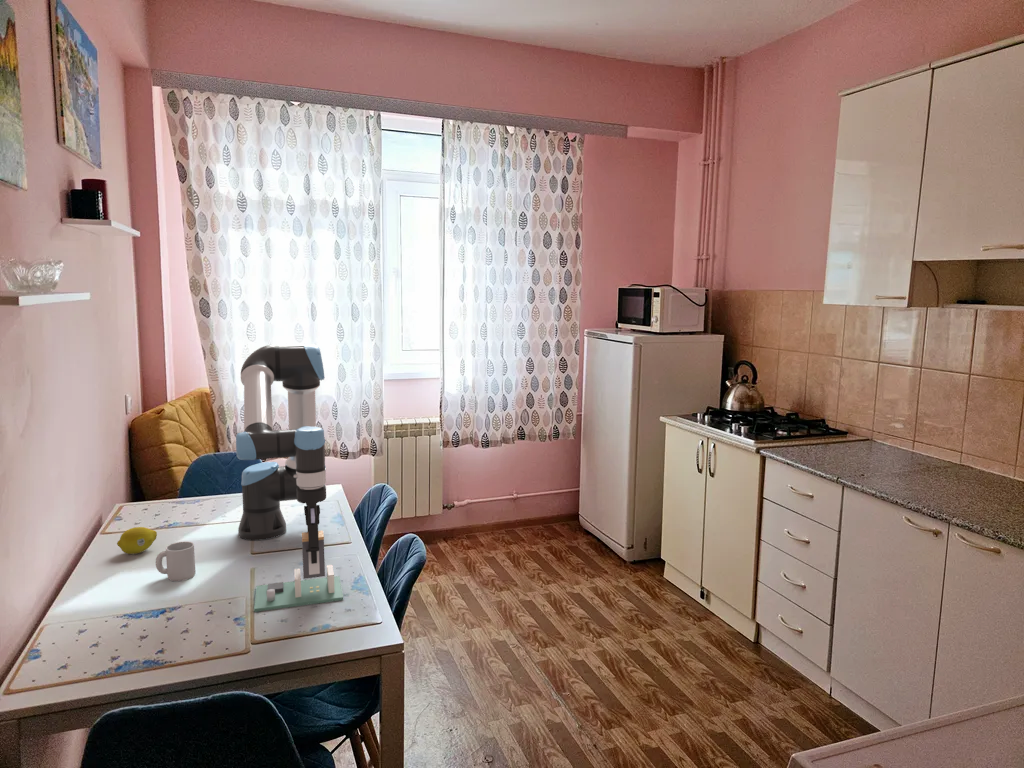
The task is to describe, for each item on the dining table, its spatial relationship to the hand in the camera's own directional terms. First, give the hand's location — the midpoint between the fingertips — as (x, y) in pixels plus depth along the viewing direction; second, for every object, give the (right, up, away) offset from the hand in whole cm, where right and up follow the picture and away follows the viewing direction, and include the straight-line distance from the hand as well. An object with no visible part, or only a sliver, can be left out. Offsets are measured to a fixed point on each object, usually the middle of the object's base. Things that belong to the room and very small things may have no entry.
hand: (314, 569), depth 178 cm
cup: (-42, -5, +10) cm, 44 cm away
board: (-4, -7, 0) cm, 8 cm away
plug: (0, -1, 0) cm, 1 cm away
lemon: (-63, -3, +27) cm, 68 cm away
